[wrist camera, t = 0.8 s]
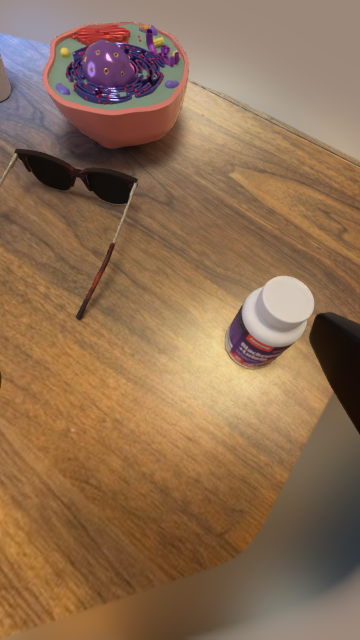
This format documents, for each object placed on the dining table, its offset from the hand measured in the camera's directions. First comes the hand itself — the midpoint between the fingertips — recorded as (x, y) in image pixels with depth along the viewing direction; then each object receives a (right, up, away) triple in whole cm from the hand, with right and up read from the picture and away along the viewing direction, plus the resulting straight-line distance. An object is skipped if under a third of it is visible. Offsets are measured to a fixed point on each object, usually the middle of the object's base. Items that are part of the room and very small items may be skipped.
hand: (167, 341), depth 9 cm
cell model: (-8, +27, +36) cm, 46 cm away
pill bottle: (+7, -2, +24) cm, 25 cm away
